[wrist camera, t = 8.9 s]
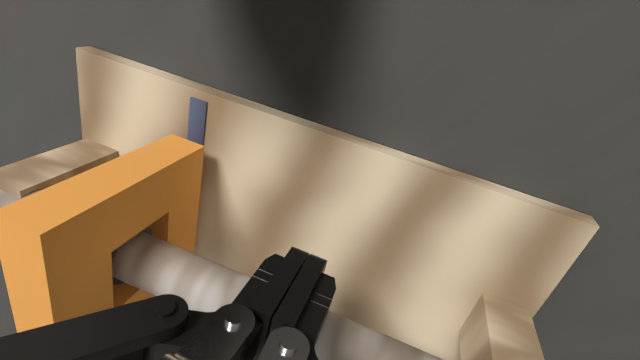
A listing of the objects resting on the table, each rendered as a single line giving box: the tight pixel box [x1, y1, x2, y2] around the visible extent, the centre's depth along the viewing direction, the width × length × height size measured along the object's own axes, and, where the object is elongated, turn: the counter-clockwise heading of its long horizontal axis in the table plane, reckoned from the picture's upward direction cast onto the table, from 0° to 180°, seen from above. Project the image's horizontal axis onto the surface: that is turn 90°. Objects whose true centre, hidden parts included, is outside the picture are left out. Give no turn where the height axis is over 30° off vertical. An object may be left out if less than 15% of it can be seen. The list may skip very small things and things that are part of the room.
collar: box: [0, 134, 205, 333], centre depth 17 cm, size 2×9×9 cm, turn 166°
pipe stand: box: [0, 46, 599, 360], centre depth 19 cm, size 28×14×8 cm, turn 75°
